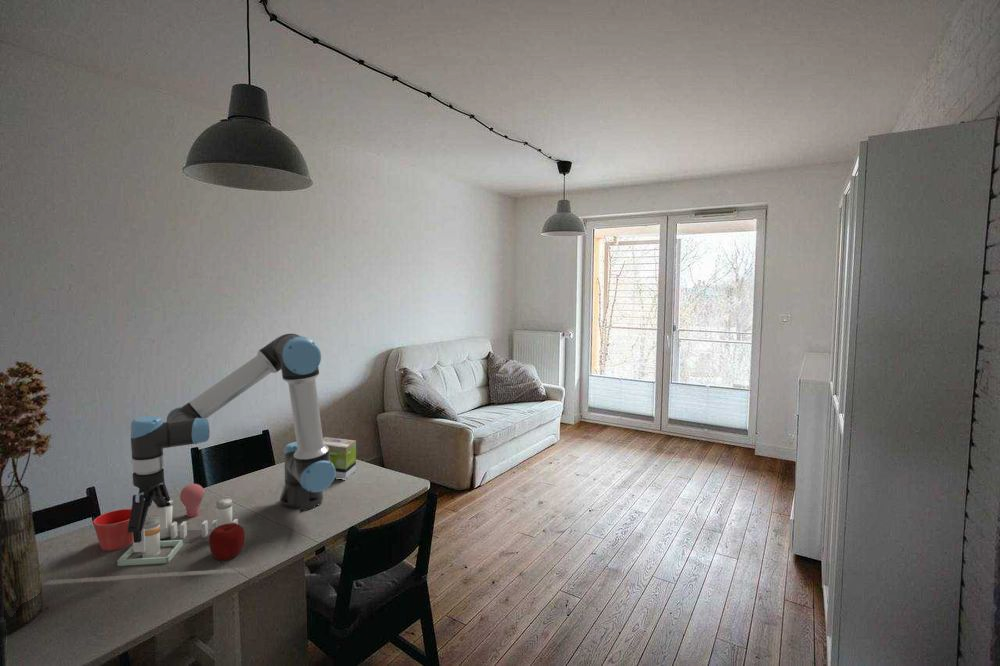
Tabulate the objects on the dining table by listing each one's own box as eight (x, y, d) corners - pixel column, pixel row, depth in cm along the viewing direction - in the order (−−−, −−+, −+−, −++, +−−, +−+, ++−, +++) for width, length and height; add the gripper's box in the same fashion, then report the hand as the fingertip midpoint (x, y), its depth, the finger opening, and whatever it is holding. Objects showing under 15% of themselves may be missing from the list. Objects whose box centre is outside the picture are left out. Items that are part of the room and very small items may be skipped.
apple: (221, 548, 159) (220, 517, 158) (251, 549, 159) (251, 519, 157) (202, 565, 149) (201, 532, 148) (234, 567, 149) (234, 534, 148)
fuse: (174, 533, 164) (175, 498, 165) (168, 538, 160) (169, 502, 161) (158, 534, 164) (160, 499, 164) (152, 539, 159) (153, 503, 160)
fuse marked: (163, 551, 155) (162, 516, 154) (156, 559, 150) (155, 524, 149) (146, 551, 154) (145, 517, 153) (139, 560, 150) (137, 524, 148)
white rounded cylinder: (234, 530, 168) (234, 498, 166) (230, 537, 163) (229, 504, 162) (219, 531, 167) (219, 499, 166) (214, 538, 162) (214, 505, 161)
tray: (183, 547, 158) (183, 539, 158) (168, 565, 149) (168, 557, 148) (135, 550, 156) (135, 542, 156) (117, 569, 146) (117, 560, 146)
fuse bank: (243, 530, 170) (243, 514, 169) (236, 543, 162) (235, 526, 161) (153, 535, 165) (153, 518, 164) (141, 548, 157) (140, 531, 156)
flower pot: (101, 541, 160) (99, 511, 159) (142, 535, 165) (141, 506, 164) (89, 558, 151) (87, 527, 150) (134, 552, 155) (133, 521, 154)
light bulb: (193, 524, 173) (192, 490, 172) (175, 521, 174) (174, 487, 173) (209, 514, 180) (208, 481, 178) (192, 512, 181) (191, 479, 180)
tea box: (312, 477, 215) (312, 443, 214) (324, 468, 225) (324, 436, 223) (345, 481, 213) (346, 446, 211) (356, 472, 223) (356, 439, 221)
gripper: (154, 455, 161) (157, 519, 163) (109, 488, 136) (113, 563, 139) (180, 454, 162) (182, 518, 165) (141, 487, 138) (144, 561, 140)
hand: (151, 539), depth 152 cm, fingers open, 13 cm apart
